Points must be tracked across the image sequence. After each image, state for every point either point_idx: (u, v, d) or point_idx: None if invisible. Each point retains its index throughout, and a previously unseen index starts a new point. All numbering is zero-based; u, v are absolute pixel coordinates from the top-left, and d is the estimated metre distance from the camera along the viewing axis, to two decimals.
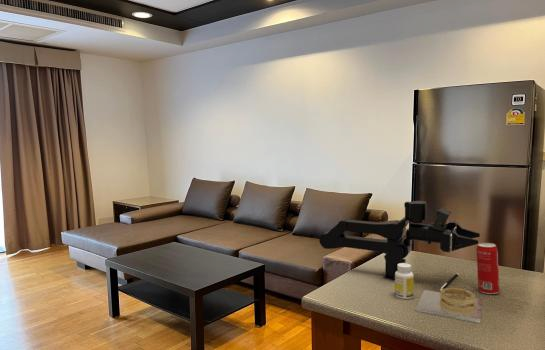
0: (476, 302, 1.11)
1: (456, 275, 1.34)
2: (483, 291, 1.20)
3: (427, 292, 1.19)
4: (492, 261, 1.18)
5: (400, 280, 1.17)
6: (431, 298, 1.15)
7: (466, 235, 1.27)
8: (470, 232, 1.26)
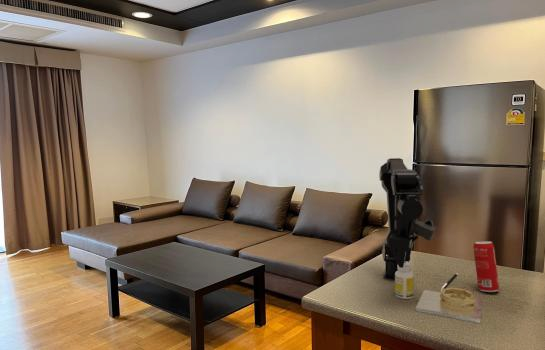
0: (476, 302, 1.11)
1: (455, 275, 1.34)
2: (483, 289, 1.20)
3: (427, 292, 1.19)
4: (489, 257, 1.19)
5: (400, 280, 1.17)
6: (431, 298, 1.15)
7: None
8: (409, 250, 1.22)
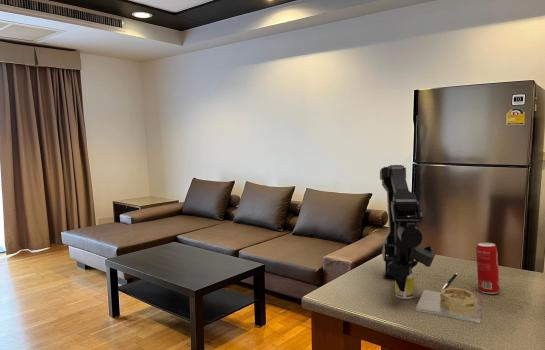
0: (476, 302, 1.11)
1: (455, 275, 1.34)
2: (483, 291, 1.20)
3: (427, 292, 1.19)
4: (492, 260, 1.18)
5: None
6: (431, 298, 1.15)
7: None
8: None
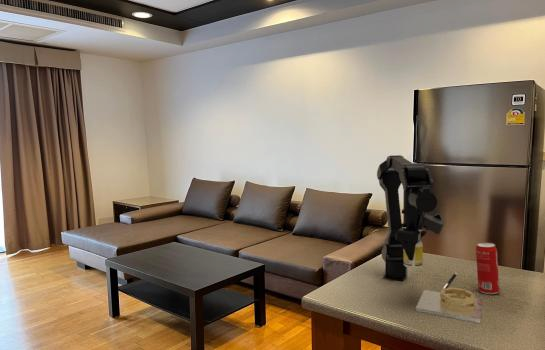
0: (476, 302, 1.11)
1: (455, 275, 1.34)
2: (483, 291, 1.20)
3: (427, 292, 1.19)
4: (491, 261, 1.18)
5: None
6: (431, 298, 1.15)
7: None
8: None
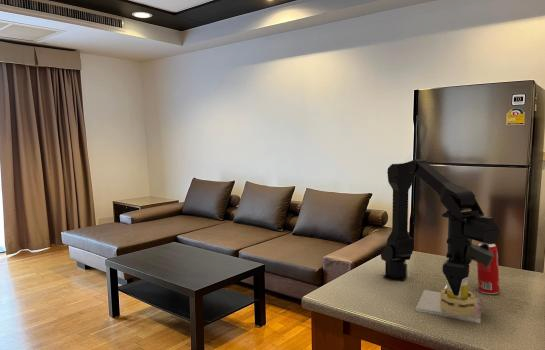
0: (476, 302, 1.11)
1: None
2: (483, 291, 1.20)
3: (427, 292, 1.19)
4: (492, 261, 1.18)
5: None
6: (431, 298, 1.15)
7: None
8: None
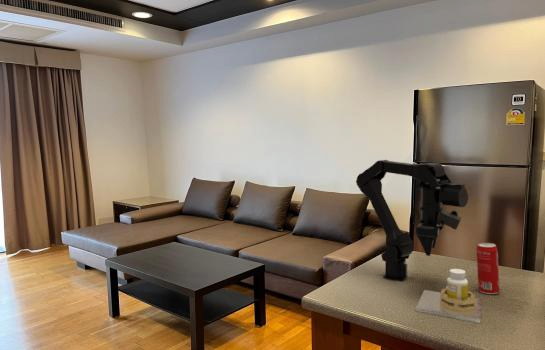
0: (476, 302, 1.11)
1: None
2: (483, 291, 1.20)
3: (427, 292, 1.19)
4: (492, 261, 1.18)
5: (453, 287, 1.08)
6: (431, 298, 1.15)
7: None
8: (434, 240, 1.27)
